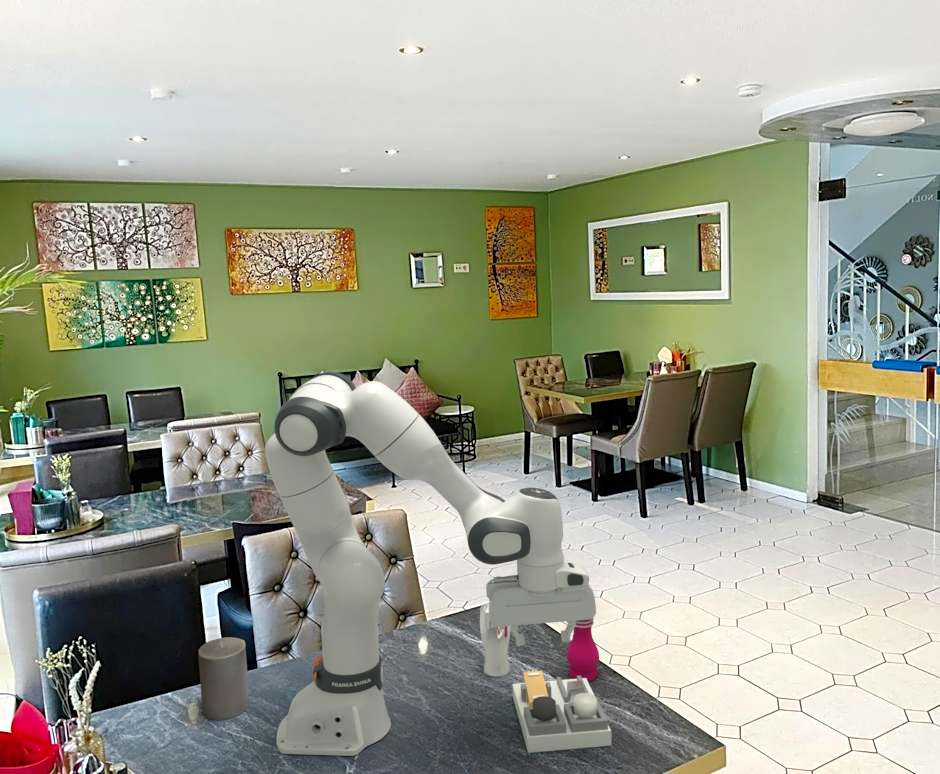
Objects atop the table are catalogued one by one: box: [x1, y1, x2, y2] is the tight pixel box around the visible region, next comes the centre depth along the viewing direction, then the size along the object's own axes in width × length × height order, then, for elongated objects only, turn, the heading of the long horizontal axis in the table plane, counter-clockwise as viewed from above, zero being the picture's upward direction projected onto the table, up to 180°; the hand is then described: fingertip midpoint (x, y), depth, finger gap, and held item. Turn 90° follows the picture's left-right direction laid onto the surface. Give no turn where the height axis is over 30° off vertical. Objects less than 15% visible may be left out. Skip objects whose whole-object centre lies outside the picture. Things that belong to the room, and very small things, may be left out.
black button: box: [533, 696, 556, 721], centre depth 147 cm, size 4×4×2 cm
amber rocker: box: [522, 670, 548, 707], centre depth 156 cm, size 4×8×2 cm, turn 5°
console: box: [511, 676, 612, 754], centre depth 153 cm, size 16×20×6 cm
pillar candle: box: [198, 636, 250, 721], centre depth 162 cm, size 10×10×15 cm
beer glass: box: [479, 602, 511, 678], centre depth 174 cm, size 7×7×15 cm
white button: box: [574, 693, 598, 717], centre depth 147 cm, size 4×4×2 cm
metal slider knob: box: [567, 681, 585, 703], centre depth 155 cm, size 3×3×3 cm
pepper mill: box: [566, 617, 600, 682], centre depth 170 cm, size 7×7×20 cm
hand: (543, 643), depth 145 cm, fingers open, 7 cm apart
